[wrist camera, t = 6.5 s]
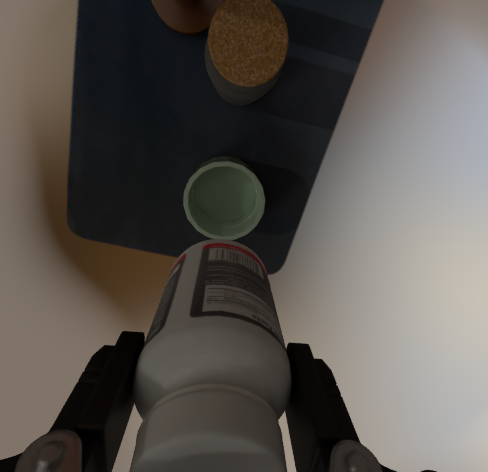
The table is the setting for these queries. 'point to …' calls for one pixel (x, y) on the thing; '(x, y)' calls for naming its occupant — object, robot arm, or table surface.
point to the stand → (187, 14)
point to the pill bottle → (213, 368)
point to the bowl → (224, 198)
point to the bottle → (246, 49)
